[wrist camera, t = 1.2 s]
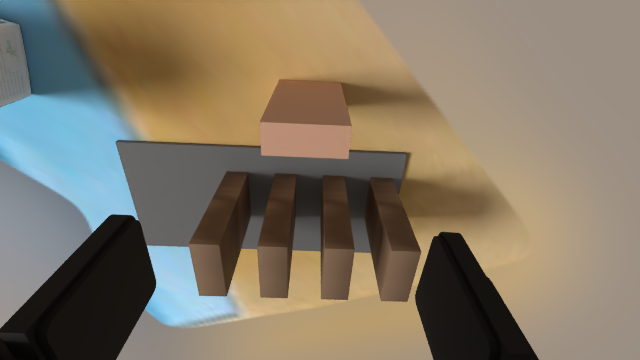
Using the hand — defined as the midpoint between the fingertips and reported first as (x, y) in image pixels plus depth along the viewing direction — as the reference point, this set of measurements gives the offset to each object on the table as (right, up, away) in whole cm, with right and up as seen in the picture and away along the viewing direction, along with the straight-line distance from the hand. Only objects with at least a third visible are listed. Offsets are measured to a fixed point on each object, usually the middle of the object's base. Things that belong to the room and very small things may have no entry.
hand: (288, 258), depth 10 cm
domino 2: (-2, +1, +21) cm, 21 cm away
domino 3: (0, +10, +16) cm, 19 cm away
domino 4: (+2, +1, +21) cm, 21 cm away
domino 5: (+7, +1, +21) cm, 22 cm away
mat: (-4, 0, +21) cm, 22 cm away
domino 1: (-7, +1, +20) cm, 22 cm away
